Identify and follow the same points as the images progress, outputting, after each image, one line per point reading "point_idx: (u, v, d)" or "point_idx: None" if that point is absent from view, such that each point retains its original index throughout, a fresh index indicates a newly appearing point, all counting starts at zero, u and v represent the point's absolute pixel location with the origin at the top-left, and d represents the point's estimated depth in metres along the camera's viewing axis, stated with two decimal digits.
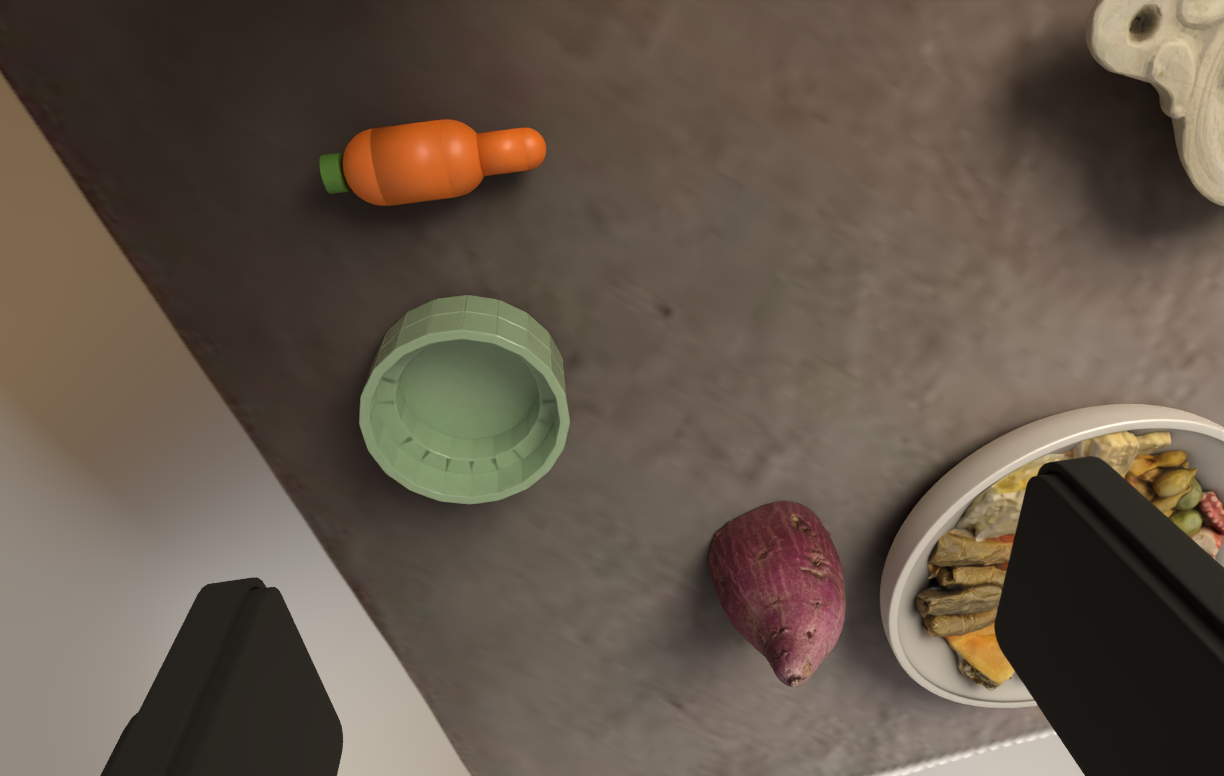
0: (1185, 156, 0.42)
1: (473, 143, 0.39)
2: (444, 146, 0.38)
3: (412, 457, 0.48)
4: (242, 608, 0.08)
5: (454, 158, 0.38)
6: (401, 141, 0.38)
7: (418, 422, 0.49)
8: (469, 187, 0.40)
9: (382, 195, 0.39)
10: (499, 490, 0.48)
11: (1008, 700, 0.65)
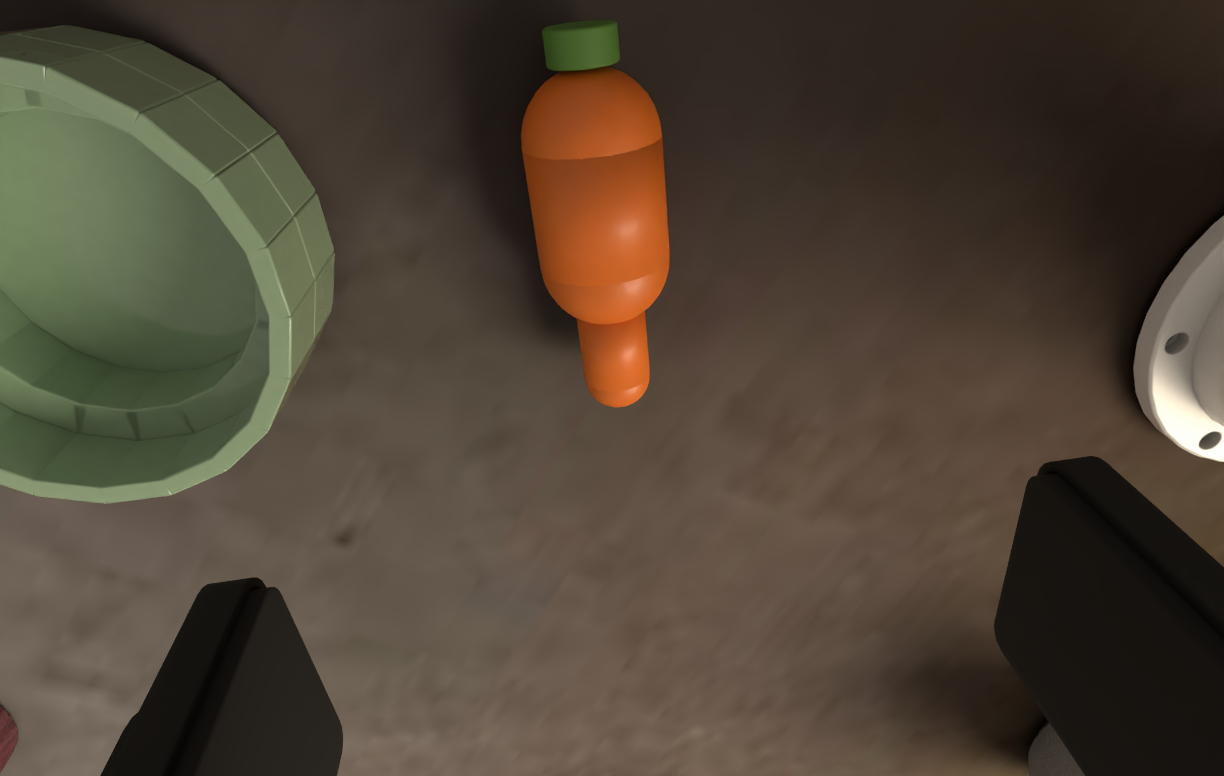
0: None
1: (638, 313, 0.23)
2: (644, 279, 0.22)
3: None
4: (242, 608, 0.08)
5: (626, 296, 0.22)
6: (652, 202, 0.21)
7: None
8: (566, 306, 0.23)
9: (556, 159, 0.20)
10: None
11: None
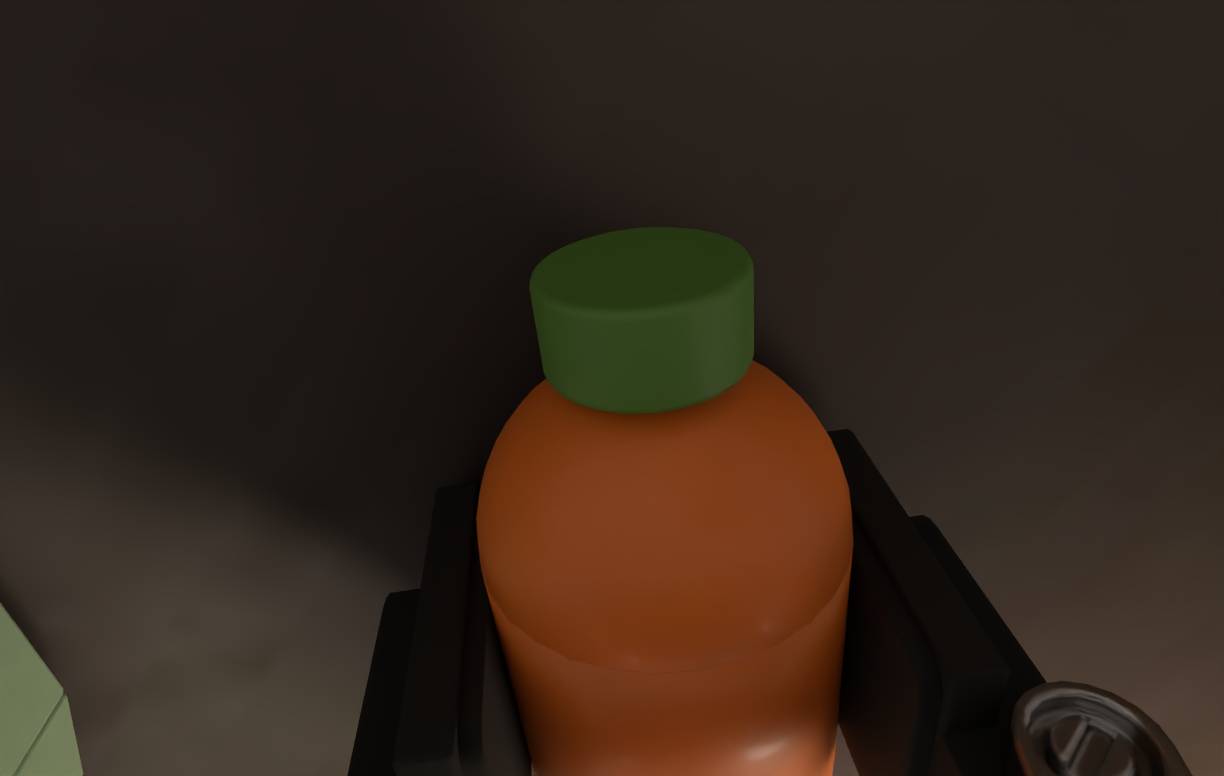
0: None
1: None
2: None
3: None
4: None
5: None
6: (828, 697, 0.08)
7: None
8: None
9: (577, 662, 0.07)
10: None
11: None
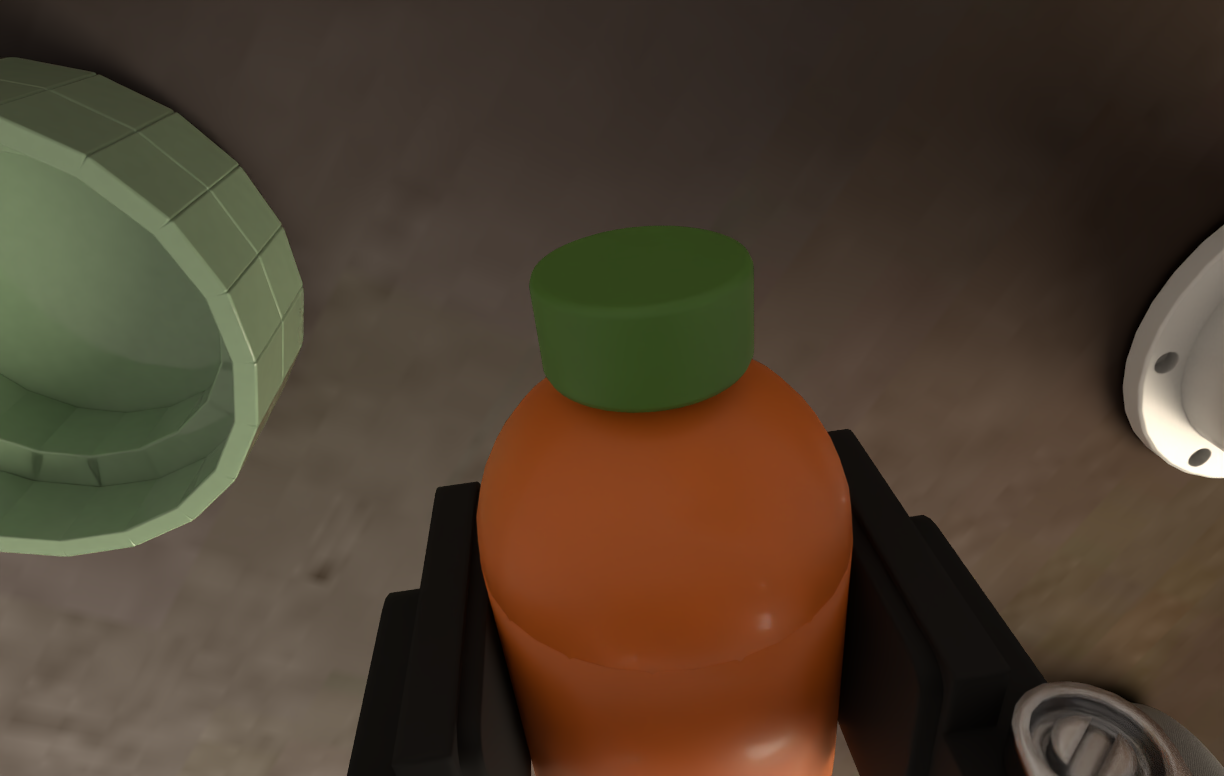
0: None
1: None
2: None
3: None
4: (477, 505, 0.09)
5: None
6: (828, 696, 0.08)
7: None
8: None
9: (577, 661, 0.07)
10: None
11: None
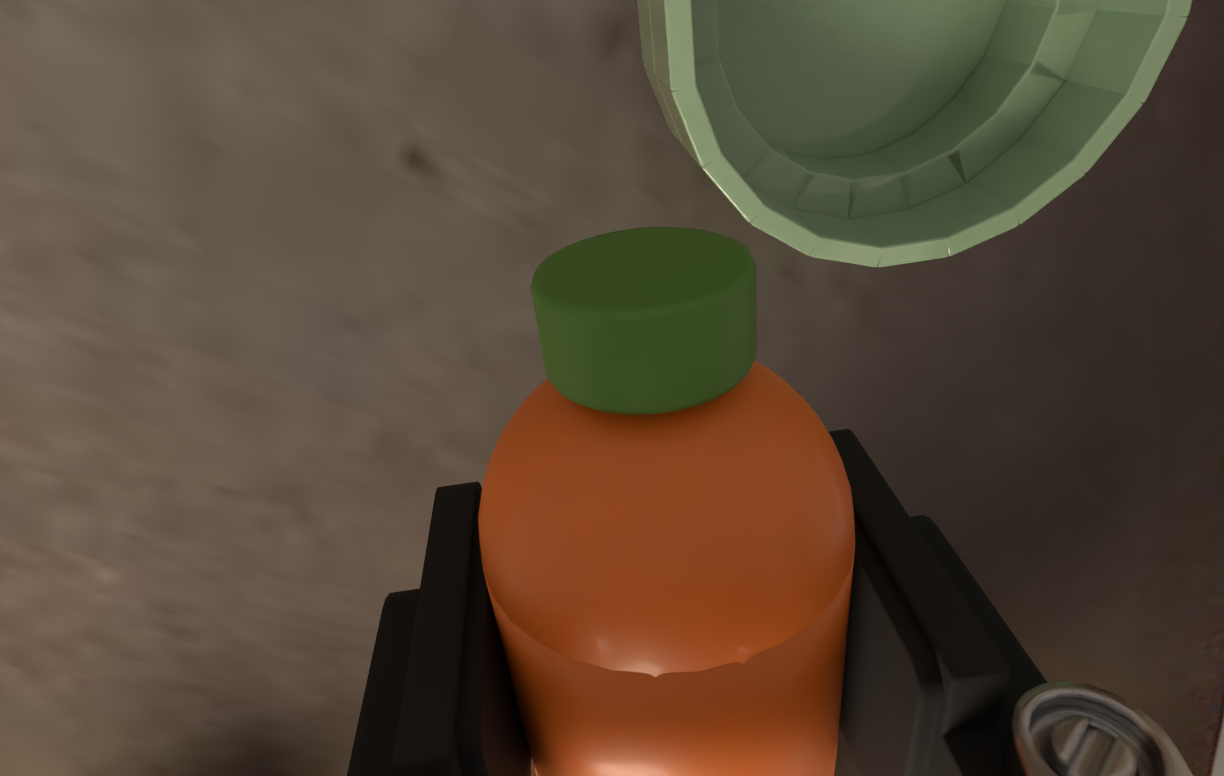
0: None
1: None
2: None
3: None
4: (477, 505, 0.09)
5: None
6: (830, 698, 0.08)
7: None
8: None
9: (579, 662, 0.07)
10: None
11: None
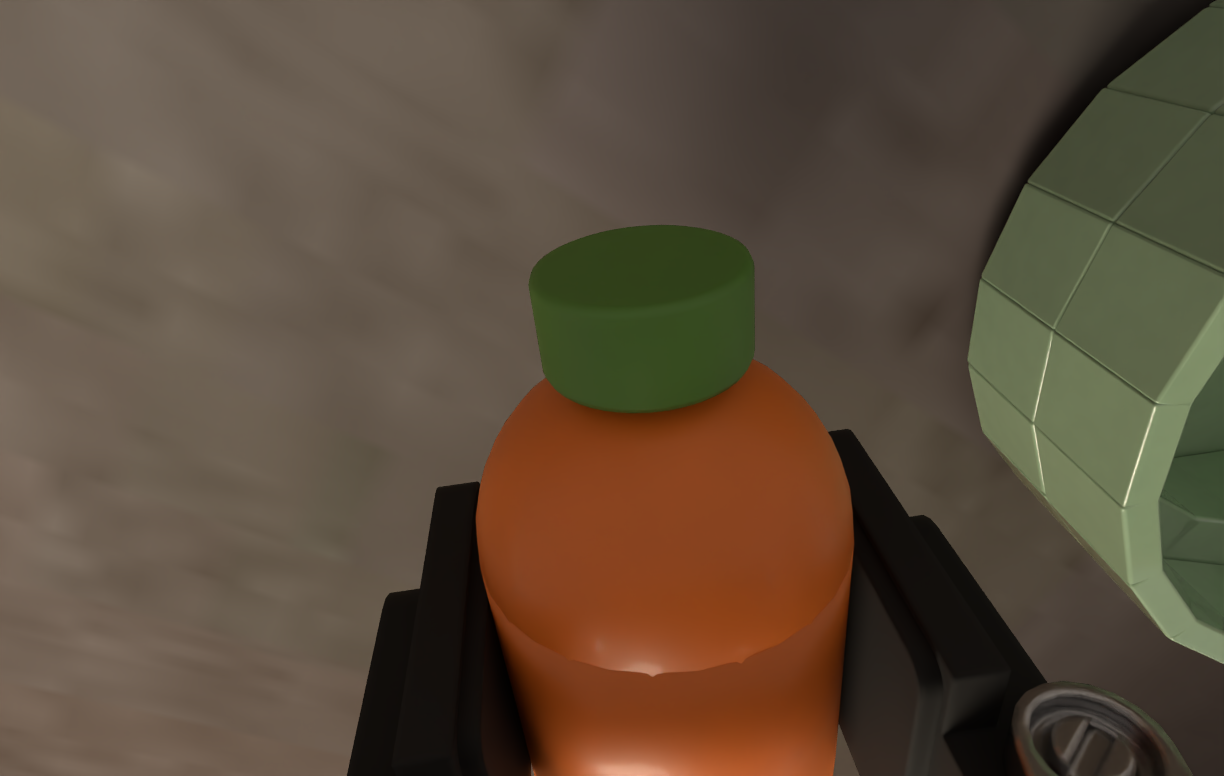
0: None
1: None
2: None
3: None
4: None
5: None
6: (829, 698, 0.08)
7: None
8: None
9: (577, 661, 0.07)
10: None
11: None
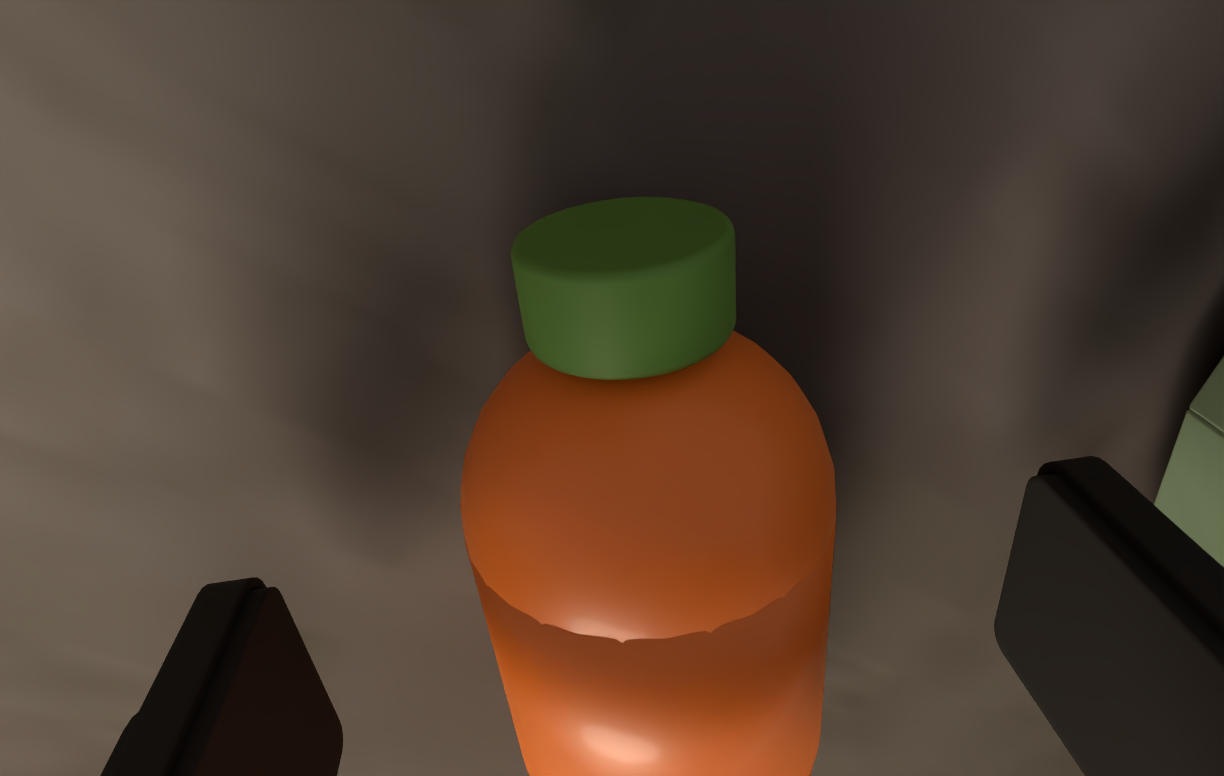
0: None
1: None
2: None
3: None
4: (242, 608, 0.08)
5: None
6: (807, 676, 0.08)
7: None
8: None
9: (548, 625, 0.07)
10: None
11: None
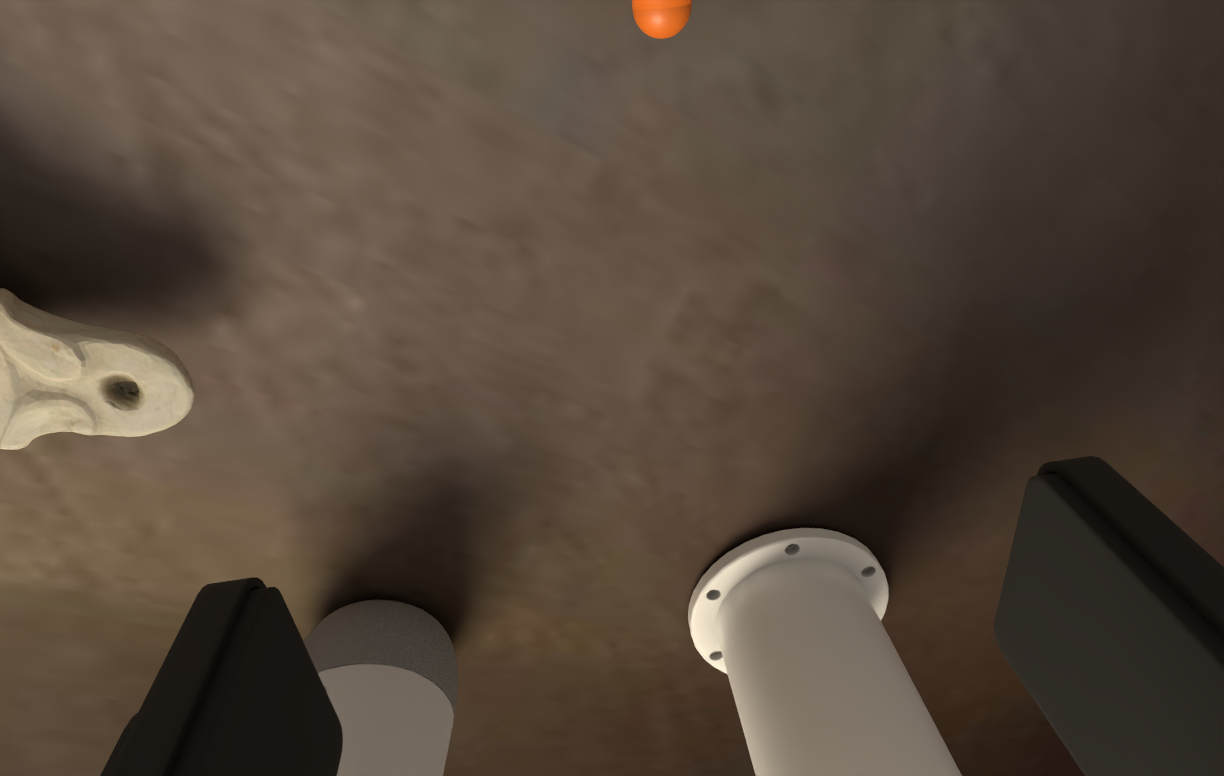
0: None
1: None
2: None
3: None
4: (242, 608, 0.08)
5: None
6: None
7: None
8: None
9: None
10: None
11: None
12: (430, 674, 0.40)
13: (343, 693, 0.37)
